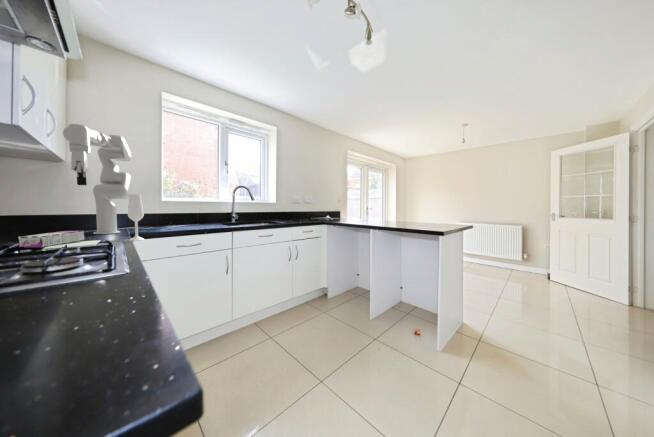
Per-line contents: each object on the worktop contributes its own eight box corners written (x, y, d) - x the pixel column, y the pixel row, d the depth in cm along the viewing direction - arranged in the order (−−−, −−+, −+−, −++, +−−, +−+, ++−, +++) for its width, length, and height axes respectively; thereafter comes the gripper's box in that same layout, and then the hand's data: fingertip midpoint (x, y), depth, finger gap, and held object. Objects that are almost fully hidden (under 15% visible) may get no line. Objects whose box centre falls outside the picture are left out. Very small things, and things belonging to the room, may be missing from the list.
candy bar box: (65, 240, 115) (18, 247, 99) (64, 230, 115) (17, 236, 99) (85, 240, 114) (41, 247, 98) (84, 230, 114) (39, 235, 97)
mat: (56, 243, 109) (56, 242, 109) (100, 240, 119) (100, 240, 119) (42, 249, 95) (42, 248, 95) (94, 245, 104) (94, 244, 104)
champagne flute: (126, 240, 120) (124, 194, 118) (131, 239, 126) (129, 194, 125) (142, 240, 122) (140, 194, 121) (146, 238, 128) (145, 195, 127)
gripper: (73, 151, 124) (75, 185, 125) (65, 145, 112) (67, 183, 114) (92, 153, 129) (94, 186, 130) (87, 148, 117) (89, 184, 118)
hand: (81, 185), depth 122 cm, fingers closed
